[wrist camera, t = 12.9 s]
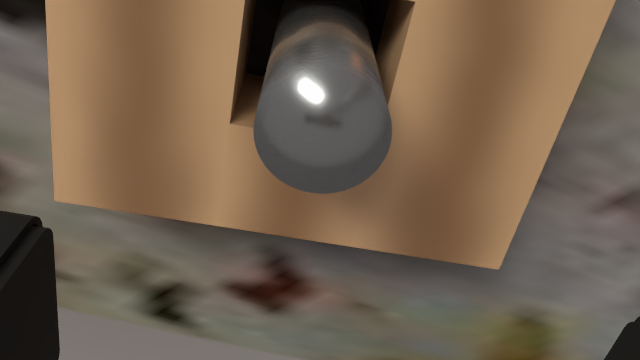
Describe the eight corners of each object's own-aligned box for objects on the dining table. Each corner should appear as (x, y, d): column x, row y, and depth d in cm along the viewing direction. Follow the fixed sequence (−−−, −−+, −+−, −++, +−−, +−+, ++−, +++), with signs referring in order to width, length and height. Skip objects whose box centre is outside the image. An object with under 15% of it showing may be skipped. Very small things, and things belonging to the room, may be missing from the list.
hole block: (590, -121, 24) (664, -112, 19) (469, 200, 32) (498, 269, 27) (100, -230, 22) (33, -253, 17) (100, 139, 30) (54, 200, 25)
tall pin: (373, -12, 26) (408, 81, 16) (354, 71, 28) (374, 203, 18) (286, -29, 26) (264, 55, 16) (273, 57, 28) (245, 181, 18)
